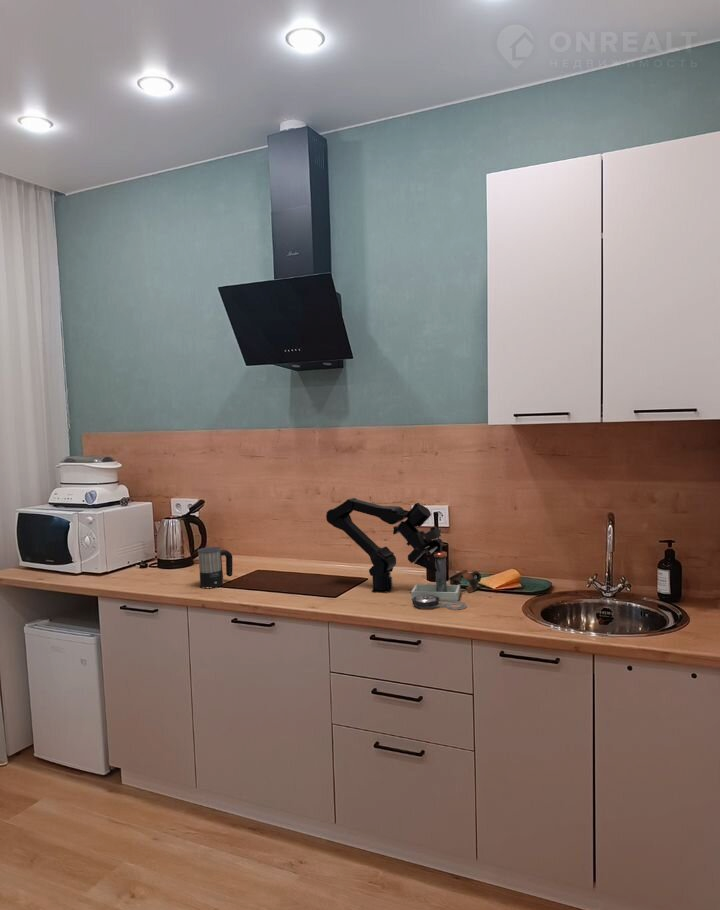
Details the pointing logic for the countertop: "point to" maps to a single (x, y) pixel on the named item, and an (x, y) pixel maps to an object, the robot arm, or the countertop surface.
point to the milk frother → (213, 566)
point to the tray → (450, 595)
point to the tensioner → (435, 603)
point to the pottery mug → (467, 576)
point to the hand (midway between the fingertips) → (441, 568)
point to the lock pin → (440, 571)
